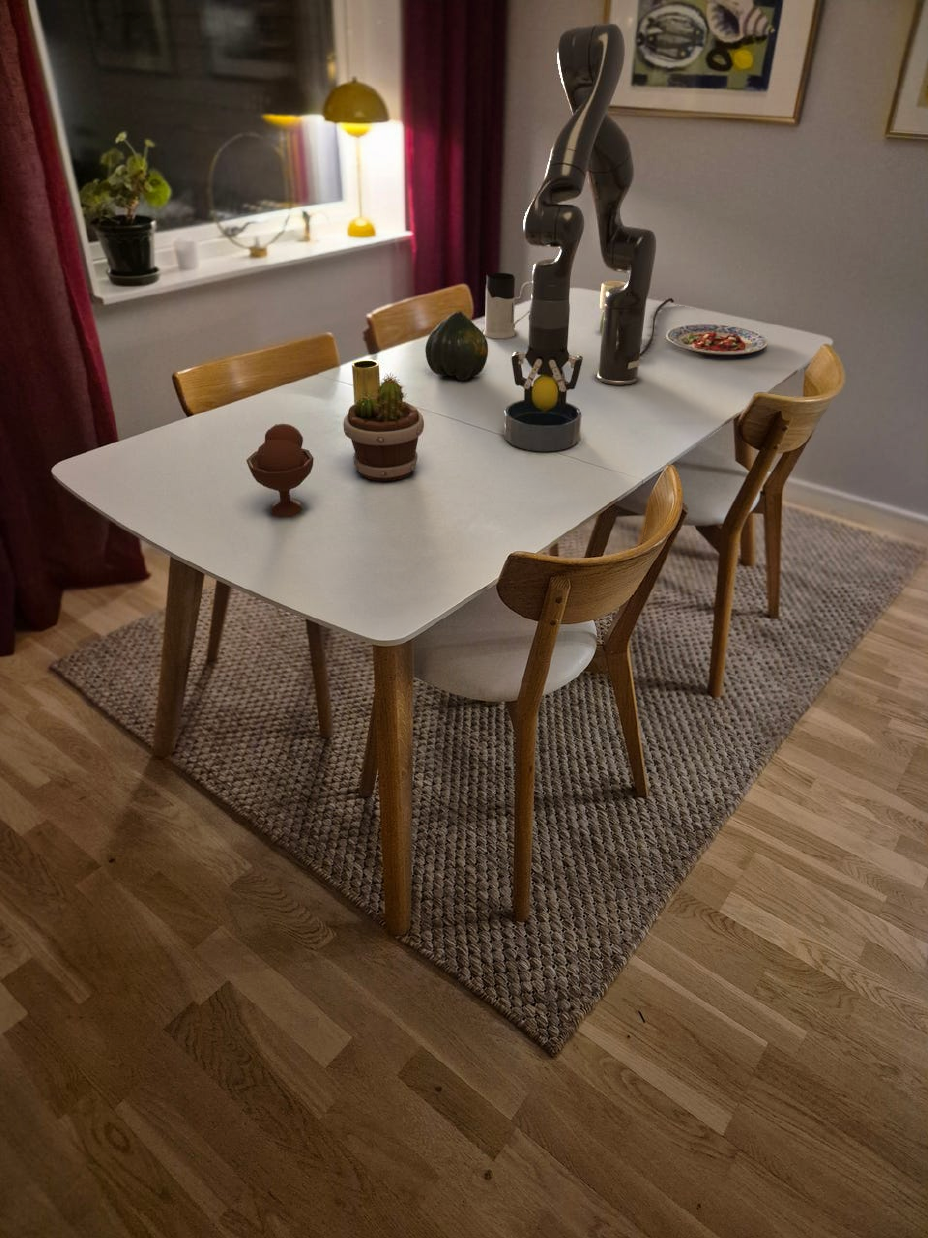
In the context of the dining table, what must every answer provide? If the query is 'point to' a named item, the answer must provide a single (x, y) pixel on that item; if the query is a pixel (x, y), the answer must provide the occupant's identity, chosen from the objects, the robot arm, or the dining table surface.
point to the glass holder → (500, 305)
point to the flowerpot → (384, 433)
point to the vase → (365, 378)
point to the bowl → (542, 427)
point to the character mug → (604, 289)
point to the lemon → (545, 392)
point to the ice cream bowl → (282, 466)
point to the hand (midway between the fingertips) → (544, 406)
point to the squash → (457, 348)
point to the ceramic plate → (717, 339)
